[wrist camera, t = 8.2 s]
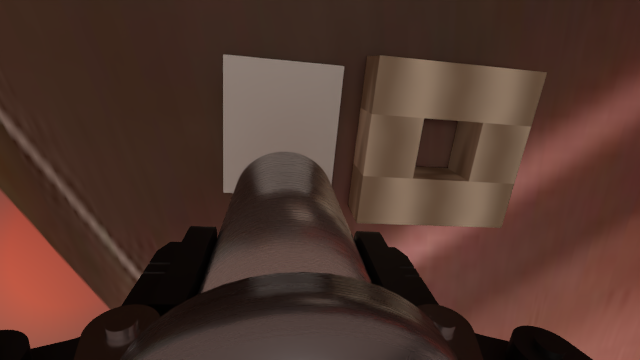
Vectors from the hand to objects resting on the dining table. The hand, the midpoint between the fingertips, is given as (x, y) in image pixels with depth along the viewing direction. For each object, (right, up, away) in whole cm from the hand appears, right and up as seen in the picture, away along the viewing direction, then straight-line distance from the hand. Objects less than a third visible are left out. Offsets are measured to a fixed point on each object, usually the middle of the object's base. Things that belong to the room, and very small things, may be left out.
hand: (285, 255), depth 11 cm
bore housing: (+12, +6, +21) cm, 25 cm away
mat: (-2, +7, +20) cm, 21 cm away
